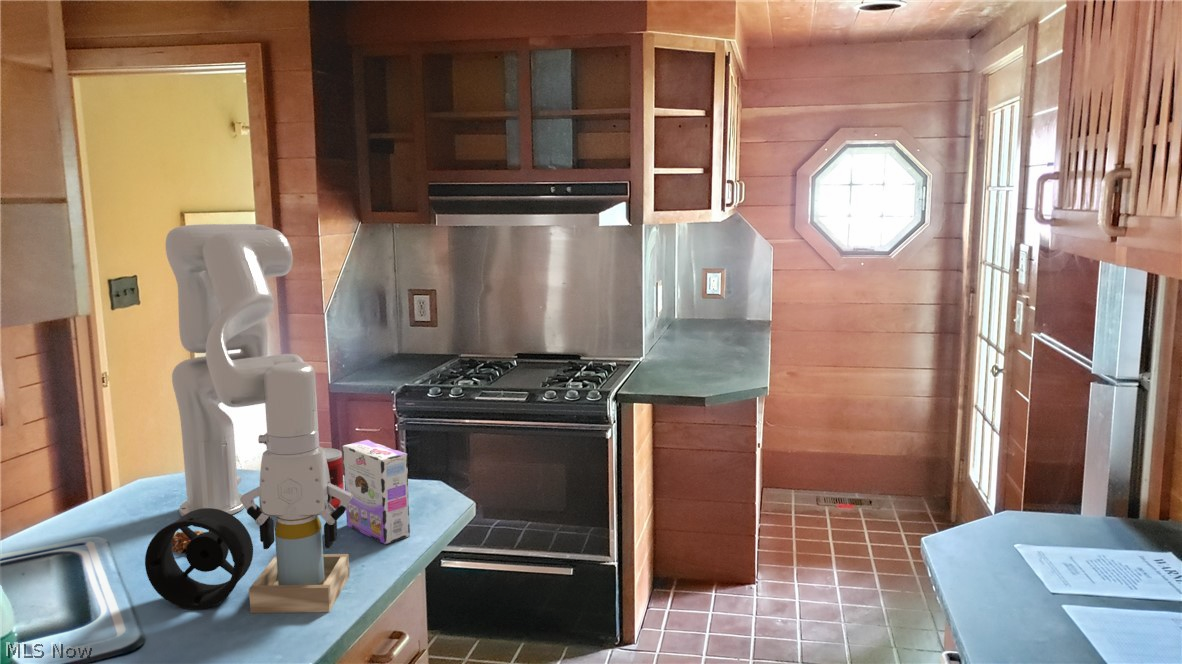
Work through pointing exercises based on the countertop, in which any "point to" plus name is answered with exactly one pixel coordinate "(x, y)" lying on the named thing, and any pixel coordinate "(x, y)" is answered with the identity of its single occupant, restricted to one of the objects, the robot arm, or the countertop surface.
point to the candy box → (377, 490)
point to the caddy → (299, 589)
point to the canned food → (335, 471)
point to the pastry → (182, 541)
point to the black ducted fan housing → (199, 558)
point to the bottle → (299, 549)
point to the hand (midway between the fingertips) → (299, 545)
